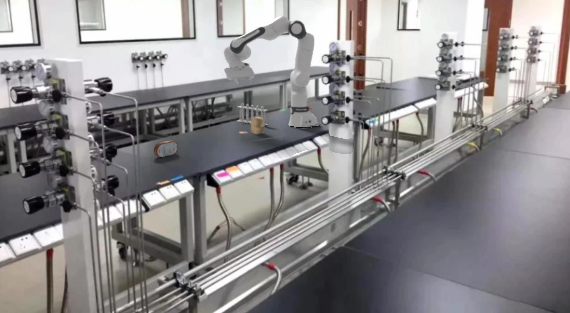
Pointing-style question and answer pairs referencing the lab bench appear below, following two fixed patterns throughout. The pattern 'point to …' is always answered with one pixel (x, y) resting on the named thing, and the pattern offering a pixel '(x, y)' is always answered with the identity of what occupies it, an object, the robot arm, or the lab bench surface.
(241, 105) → the test tube rack
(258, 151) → the lab bench surface
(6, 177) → the lab bench surface
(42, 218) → the lab bench surface
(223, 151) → the lab bench surface
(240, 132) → the plate
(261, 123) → the oak block
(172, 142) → the tin
